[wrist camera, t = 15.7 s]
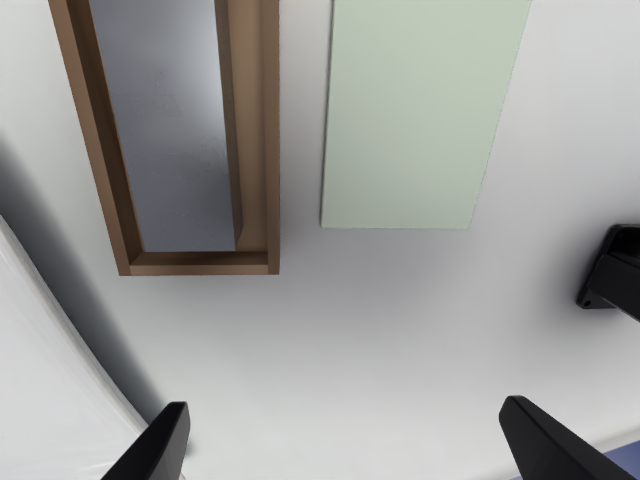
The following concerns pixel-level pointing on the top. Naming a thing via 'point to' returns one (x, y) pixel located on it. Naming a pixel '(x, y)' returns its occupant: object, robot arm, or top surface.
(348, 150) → the sage mat
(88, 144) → the walnut slot tray
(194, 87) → the gunmetal bar
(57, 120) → the top surface
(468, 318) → the top surface
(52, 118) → the top surface
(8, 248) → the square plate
